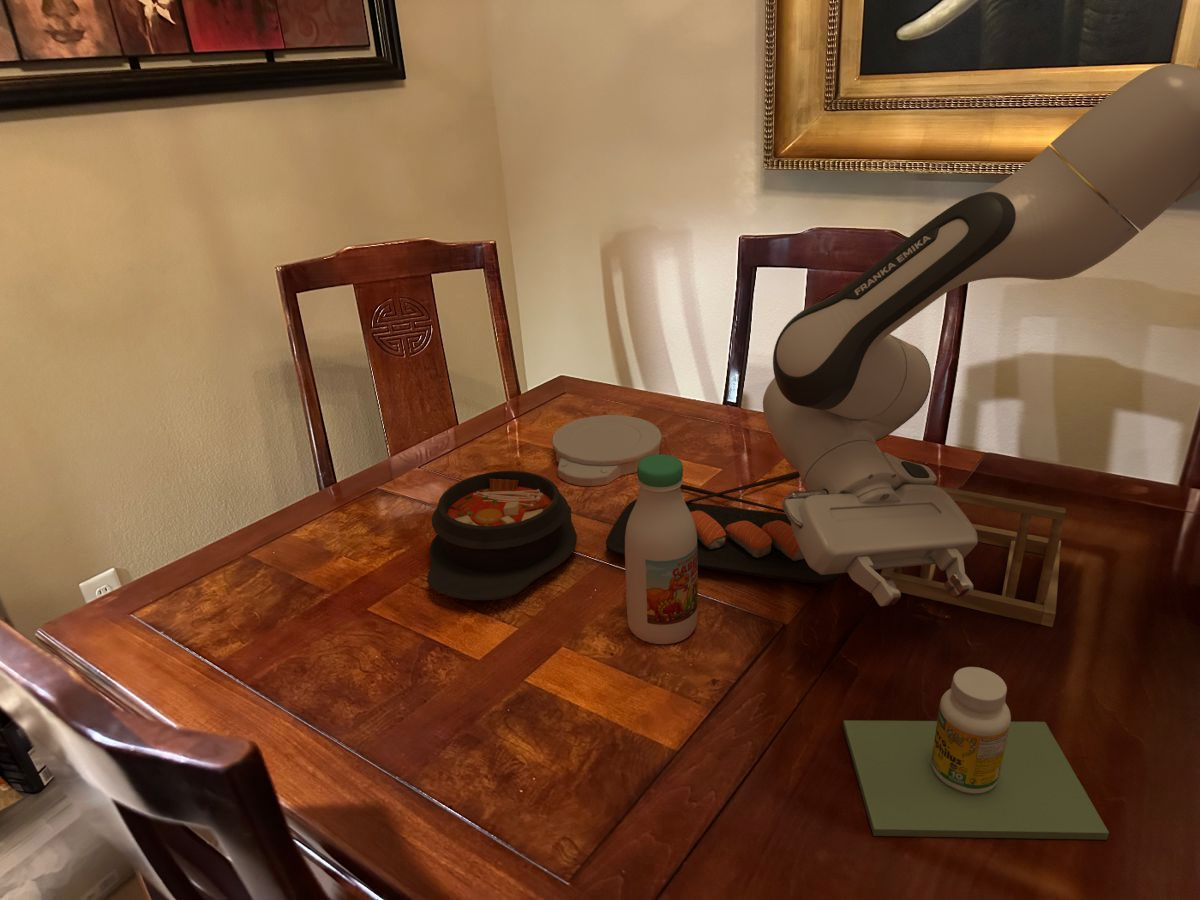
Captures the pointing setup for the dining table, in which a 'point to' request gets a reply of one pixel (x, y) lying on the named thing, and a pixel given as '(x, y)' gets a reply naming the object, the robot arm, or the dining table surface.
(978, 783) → the supplement bottle
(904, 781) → the mat
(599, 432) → the kitchen scale
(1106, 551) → the dining table surface
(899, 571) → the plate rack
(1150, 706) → the dining table surface
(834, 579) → the sushi plate
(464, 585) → the casserole
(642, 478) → the milk bottle
